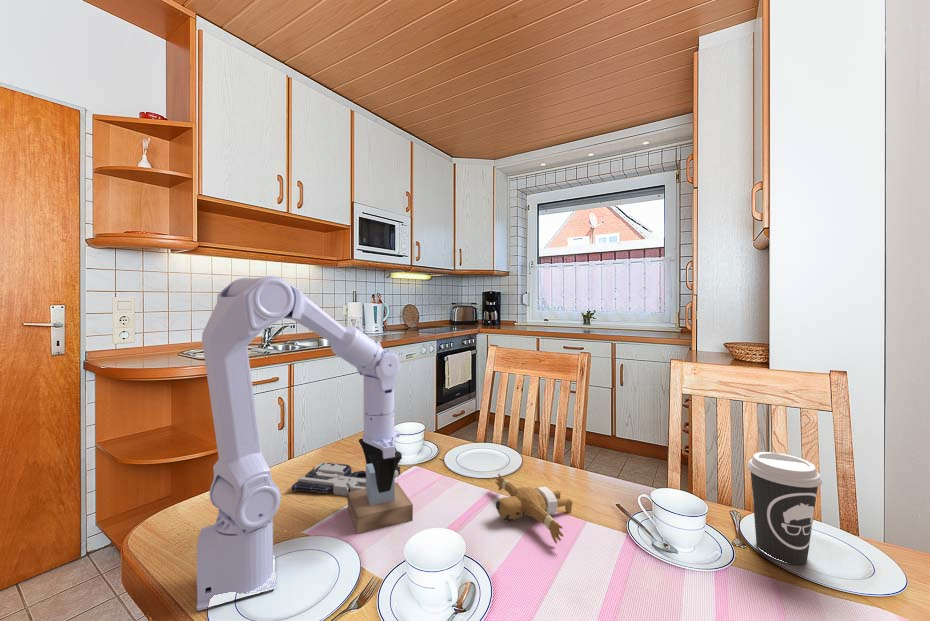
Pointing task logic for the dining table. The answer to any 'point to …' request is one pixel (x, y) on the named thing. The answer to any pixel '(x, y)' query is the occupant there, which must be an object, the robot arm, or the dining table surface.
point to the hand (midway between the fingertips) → (379, 482)
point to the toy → (531, 504)
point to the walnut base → (379, 510)
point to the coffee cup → (783, 504)
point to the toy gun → (333, 479)
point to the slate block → (372, 489)
